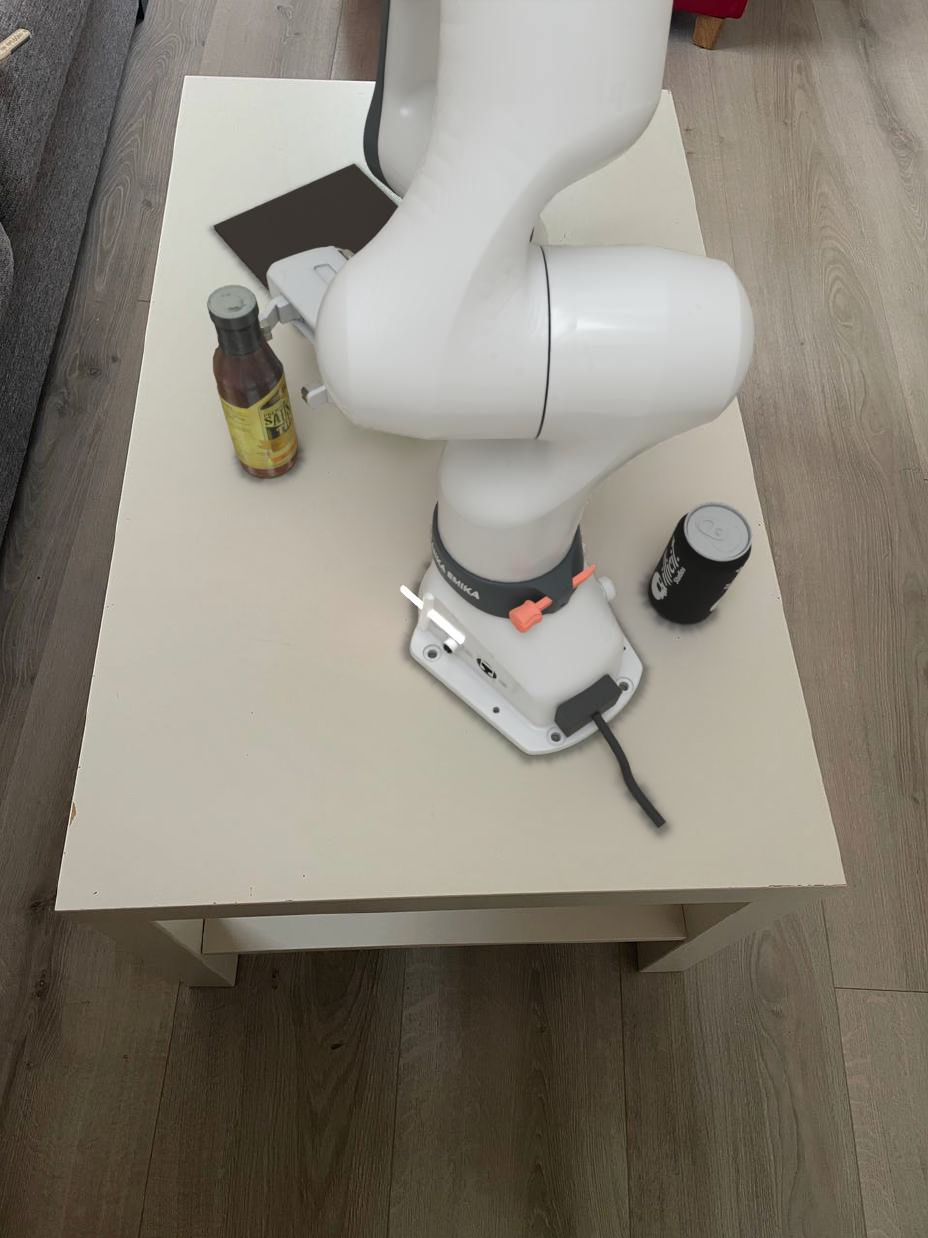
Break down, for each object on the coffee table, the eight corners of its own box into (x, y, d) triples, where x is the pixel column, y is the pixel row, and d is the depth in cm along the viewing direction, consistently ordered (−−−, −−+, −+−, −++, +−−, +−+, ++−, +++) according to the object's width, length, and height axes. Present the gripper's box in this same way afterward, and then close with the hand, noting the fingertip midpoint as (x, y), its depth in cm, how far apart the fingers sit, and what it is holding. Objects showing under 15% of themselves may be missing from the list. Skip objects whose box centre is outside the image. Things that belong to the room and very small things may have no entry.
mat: (449, 260, 101) (449, 256, 100) (305, 332, 95) (305, 328, 94) (354, 167, 107) (354, 162, 107) (214, 229, 101) (213, 225, 101)
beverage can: (692, 640, 80) (733, 578, 69) (633, 601, 81) (664, 535, 71) (726, 592, 82) (771, 524, 72) (668, 555, 84) (704, 484, 73)
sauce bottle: (289, 486, 86) (254, 340, 68) (229, 474, 86) (179, 326, 68) (308, 435, 89) (279, 283, 71) (250, 424, 89) (206, 270, 71)
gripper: (338, 214, 83) (212, 272, 79) (465, 344, 76) (335, 414, 72) (344, 267, 89) (227, 323, 85) (462, 392, 82) (341, 460, 78)
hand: (277, 366), depth 78 cm, fingers open, 8 cm apart
